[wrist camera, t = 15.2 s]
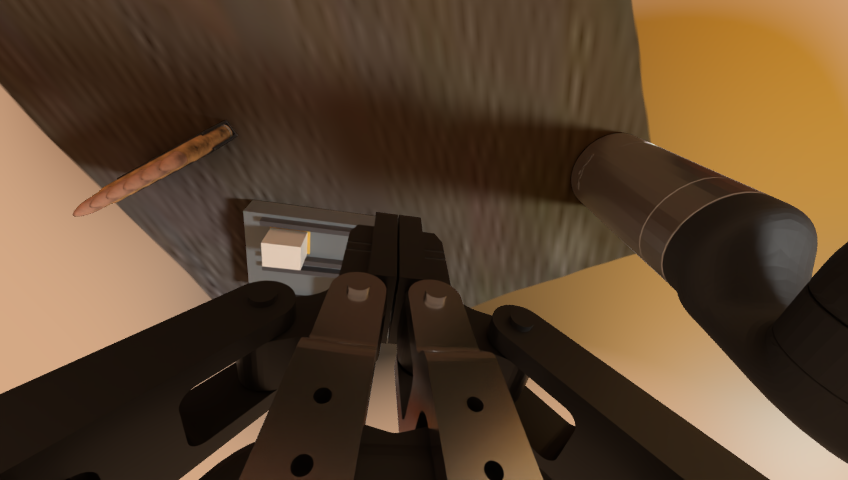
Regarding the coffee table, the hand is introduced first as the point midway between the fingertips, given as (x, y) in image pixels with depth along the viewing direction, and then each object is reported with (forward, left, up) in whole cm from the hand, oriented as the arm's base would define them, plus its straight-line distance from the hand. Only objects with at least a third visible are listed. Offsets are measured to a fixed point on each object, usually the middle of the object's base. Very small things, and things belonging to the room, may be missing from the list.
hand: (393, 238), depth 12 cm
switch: (+10, +17, -26) cm, 32 cm away
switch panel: (+5, +20, -29) cm, 35 cm away
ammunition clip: (+21, +9, -29) cm, 37 cm away
